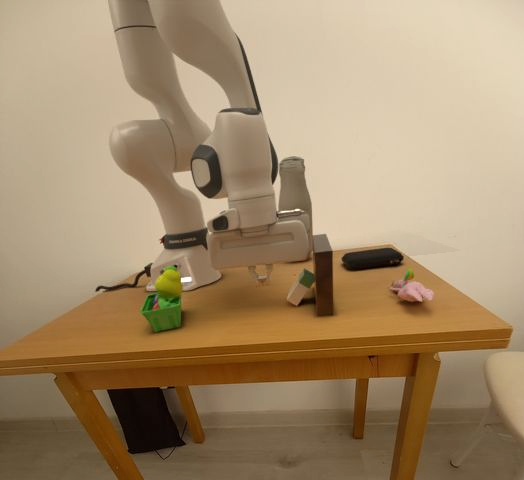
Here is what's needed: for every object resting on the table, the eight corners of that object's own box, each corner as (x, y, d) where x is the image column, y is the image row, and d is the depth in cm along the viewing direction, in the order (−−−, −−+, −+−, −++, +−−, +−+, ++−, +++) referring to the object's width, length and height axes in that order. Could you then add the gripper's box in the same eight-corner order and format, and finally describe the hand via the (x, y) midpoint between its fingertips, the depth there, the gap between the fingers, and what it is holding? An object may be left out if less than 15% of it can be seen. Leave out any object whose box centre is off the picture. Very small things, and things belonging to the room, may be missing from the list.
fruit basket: (153, 315, 68) (137, 266, 63) (191, 307, 69) (179, 259, 64) (148, 336, 59) (127, 281, 53) (192, 327, 60) (177, 272, 54)
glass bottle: (310, 254, 99) (306, 155, 85) (316, 261, 90) (313, 152, 76) (281, 258, 99) (272, 160, 85) (284, 266, 90) (275, 158, 76)
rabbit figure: (383, 295, 64) (405, 312, 51) (384, 267, 62) (408, 277, 48) (413, 292, 63) (445, 309, 50) (415, 264, 61) (449, 273, 48)
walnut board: (317, 316, 56) (314, 252, 50) (314, 288, 70) (311, 235, 64) (333, 315, 56) (332, 250, 50) (327, 287, 70) (325, 233, 64)
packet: (287, 306, 62) (285, 275, 59) (288, 298, 66) (286, 268, 63) (314, 305, 61) (314, 273, 58) (314, 297, 65) (314, 267, 62)
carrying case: (349, 273, 76) (407, 266, 75) (349, 261, 75) (409, 254, 74) (340, 263, 85) (392, 256, 84) (340, 252, 84) (393, 245, 83)
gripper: (308, 205, 57) (312, 276, 63) (207, 219, 60) (221, 285, 67) (309, 208, 51) (313, 285, 58) (198, 224, 55) (214, 294, 62)
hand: (263, 285), depth 63 cm, fingers closed
